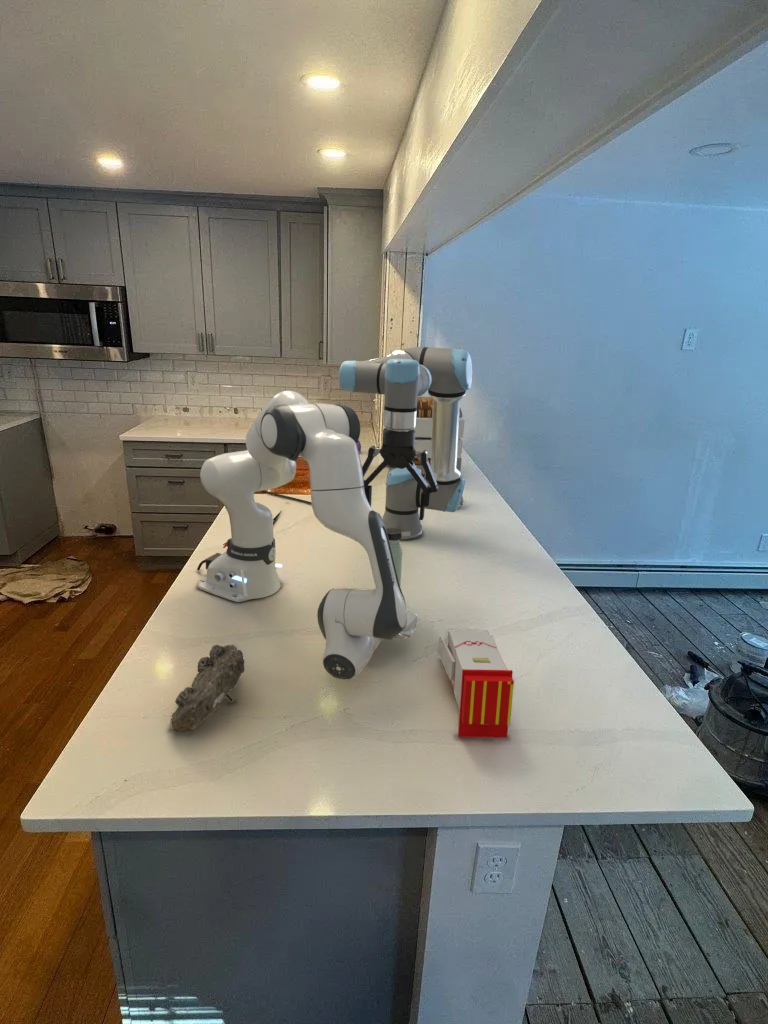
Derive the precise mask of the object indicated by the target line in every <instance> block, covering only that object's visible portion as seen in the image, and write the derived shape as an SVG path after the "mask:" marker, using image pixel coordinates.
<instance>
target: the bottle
mask: <svg viewBox="0 0 768 1024" xmlns="http://www.w3.org/2000/svg"><path fill="white" fill-rule="evenodd" d="M389 543H390V547H391V551H392V556H393V560H394V564H395V568H396V573H397V577H398V581H399V585H400V586H401V582H402V581H401V580H402V564H403V550H402V546H401V544H400V543H401V542H400V540H396V541H391V540H389Z"/></svg>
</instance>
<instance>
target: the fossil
mask: <svg viewBox="0 0 768 1024" xmlns="http://www.w3.org/2000/svg"><path fill="white" fill-rule="evenodd" d="M244 658H245V657H244V653H243V652H242V650H240V649H238V648H237V646H236V645H235V644H227V645H224V646H223V645H218V644H214V645H213V646H212V647H211V649H210V650H209V656H202V657H201V658H200V659H199V660H198V662H197V667H196V668H197V670H196V671H197V672H198V673H197V674H196V676H195V677H194V678H193V681H192V683H191V685H190V686H187V687H185V688H184V689H183V690H181V692H179V694H178V695H177V696H176V698H175V701H174V702H175V704H176V705H177V708H176V709H175V711H174V712H172V713H171V718H170V724H171V729H172V730H176V731H177V732H179V733H180V732H181V733H182V732H185V731H190V730H192V731H193V730H195V729H197V728H198V727H199V726H200V725H201V724H202V723H203V722H204V721H206V720H207V719H208V718H209V716H211V715H212V714H213V713H214V712H215V711H216V710H217V709H219V706H220V705H221V703H222V702H223V701H224V700H226V698H227V699H228V701H230V702H234V699H233V698H232V696H230V695H229V693H230V691H231V690H234V689H235V687H236V686H237V685H238V682H239V680H240V679H241V676H242V674H244V673H245V667H246V666H245V659H244Z"/></svg>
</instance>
